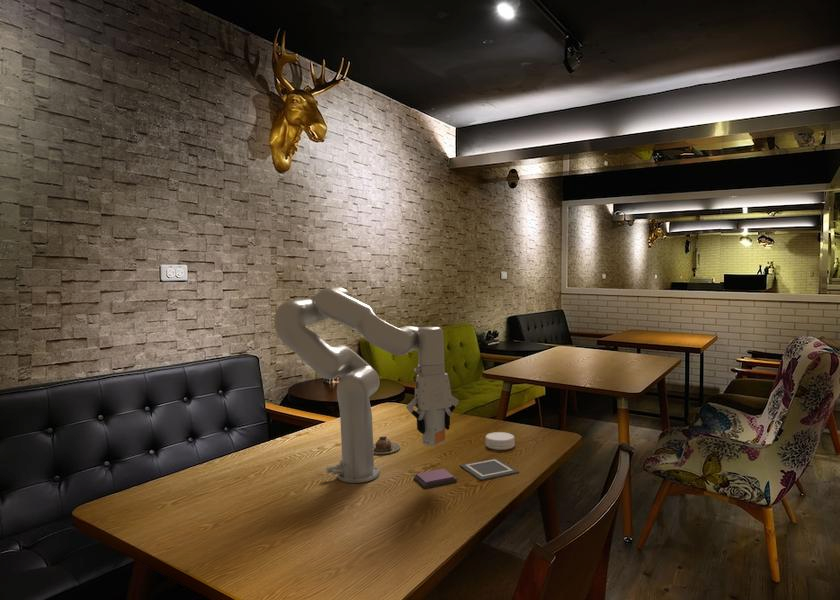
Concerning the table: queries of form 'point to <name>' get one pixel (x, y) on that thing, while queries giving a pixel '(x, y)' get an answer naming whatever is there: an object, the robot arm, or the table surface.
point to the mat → (489, 469)
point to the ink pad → (434, 478)
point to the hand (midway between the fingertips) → (433, 429)
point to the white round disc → (500, 440)
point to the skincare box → (434, 427)
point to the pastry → (385, 445)
